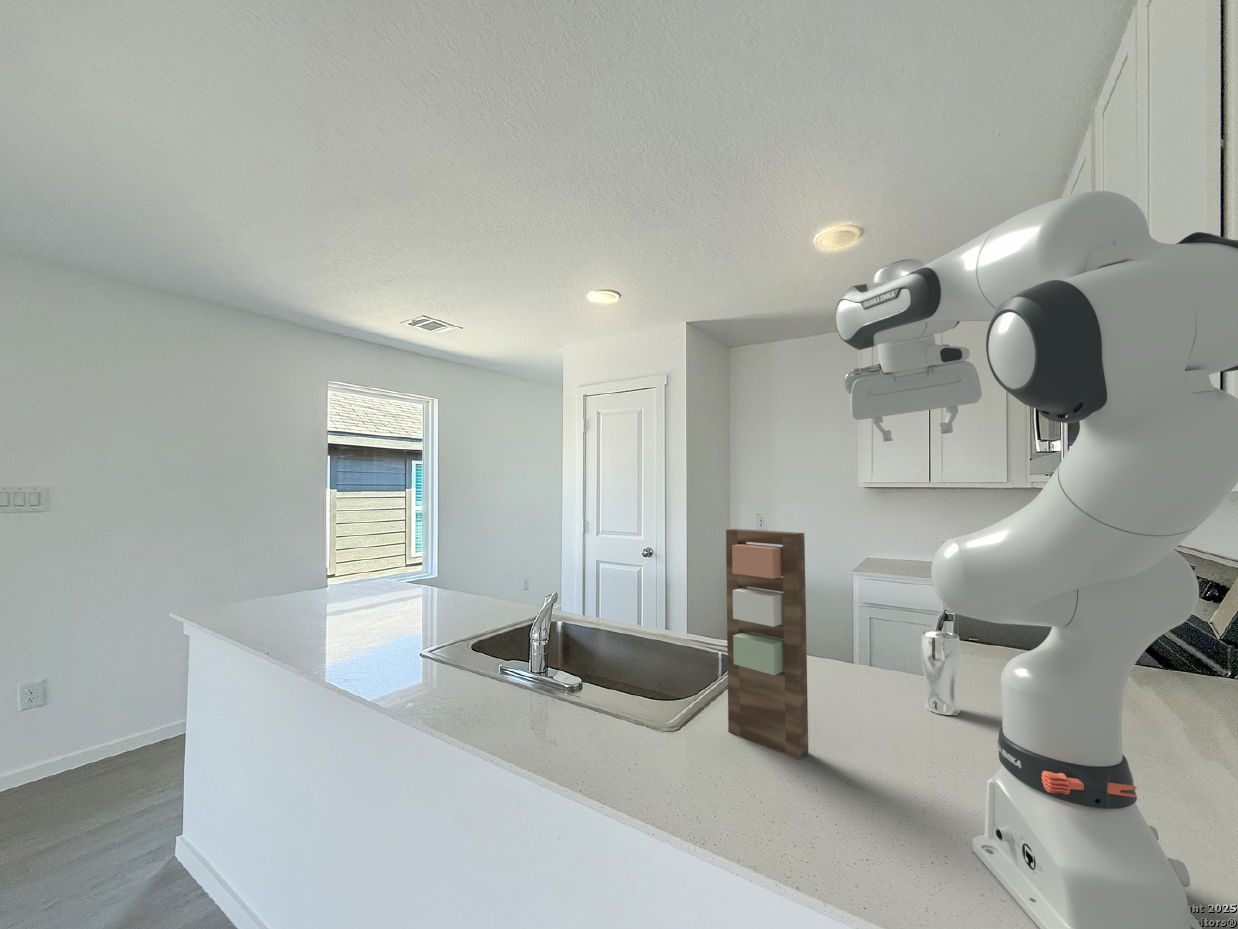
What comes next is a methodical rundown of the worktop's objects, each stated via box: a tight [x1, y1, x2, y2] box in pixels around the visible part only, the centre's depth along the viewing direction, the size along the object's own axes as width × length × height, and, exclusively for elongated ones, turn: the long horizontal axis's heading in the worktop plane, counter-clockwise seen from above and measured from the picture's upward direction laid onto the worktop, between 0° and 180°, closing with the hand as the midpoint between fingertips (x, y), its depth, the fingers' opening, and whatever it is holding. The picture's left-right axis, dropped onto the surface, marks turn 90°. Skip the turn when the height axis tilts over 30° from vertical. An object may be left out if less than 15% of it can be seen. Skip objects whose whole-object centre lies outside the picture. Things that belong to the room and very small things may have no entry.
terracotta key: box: [732, 543, 783, 579], centre depth 94 cm, size 4×8×5 cm, turn 44°
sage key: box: [733, 631, 785, 675], centre depth 93 cm, size 4×8×5 cm, turn 44°
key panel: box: [725, 528, 809, 760], centre depth 94 cm, size 3×14×37 cm, turn 44°
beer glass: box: [920, 629, 962, 715], centre depth 107 cm, size 7×7×15 cm
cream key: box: [733, 587, 784, 627], centre depth 93 cm, size 4×8×5 cm, turn 44°
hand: (916, 437), depth 94 cm, fingers open, 8 cm apart
